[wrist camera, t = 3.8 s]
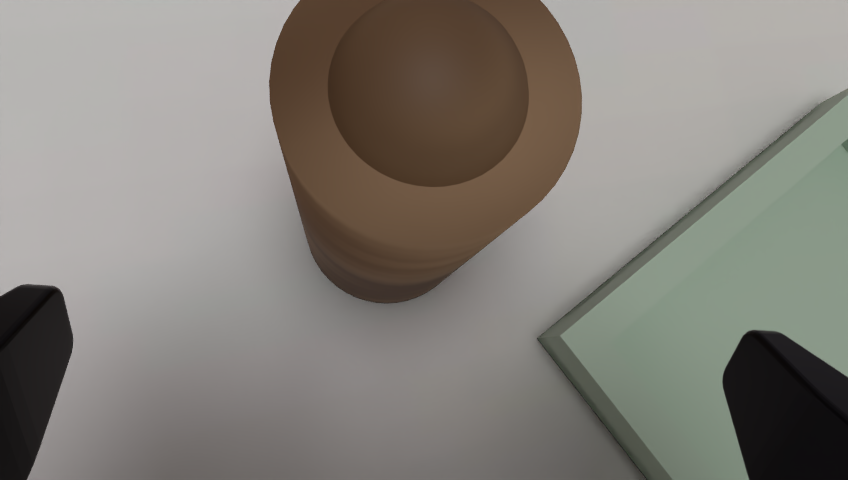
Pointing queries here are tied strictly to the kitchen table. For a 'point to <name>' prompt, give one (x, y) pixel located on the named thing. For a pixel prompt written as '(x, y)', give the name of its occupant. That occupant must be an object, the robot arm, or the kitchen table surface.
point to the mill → (419, 131)
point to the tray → (717, 303)
